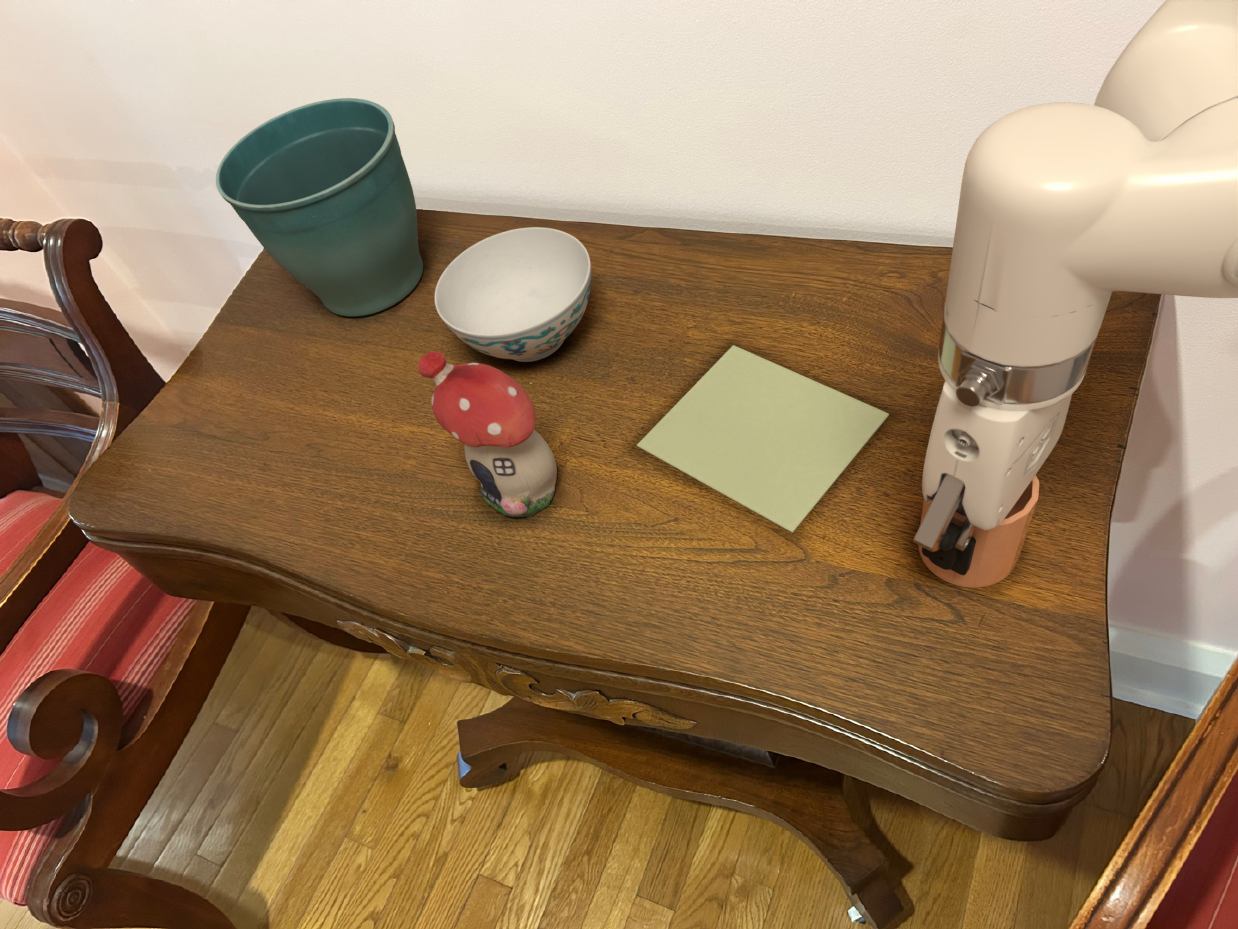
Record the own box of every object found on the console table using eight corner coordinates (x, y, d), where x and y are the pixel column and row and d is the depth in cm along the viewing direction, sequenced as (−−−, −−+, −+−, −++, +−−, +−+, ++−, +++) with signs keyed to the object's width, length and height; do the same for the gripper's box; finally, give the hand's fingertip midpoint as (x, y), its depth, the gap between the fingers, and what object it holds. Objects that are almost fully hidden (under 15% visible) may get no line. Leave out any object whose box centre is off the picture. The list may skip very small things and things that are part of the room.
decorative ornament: (460, 481, 75) (392, 362, 64) (516, 435, 77) (460, 313, 66) (524, 538, 70) (463, 420, 59) (582, 487, 72) (534, 364, 61)
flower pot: (480, 240, 97) (426, 100, 84) (397, 351, 88) (321, 214, 75) (357, 224, 104) (288, 93, 91) (268, 325, 95) (178, 196, 82)
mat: (889, 415, 71) (889, 413, 71) (792, 533, 66) (792, 532, 65) (733, 346, 79) (733, 344, 79) (636, 446, 74) (636, 445, 74)
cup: (1035, 536, 62) (1058, 469, 55) (989, 605, 59) (1007, 543, 53) (947, 494, 65) (959, 427, 59) (900, 557, 63) (907, 494, 56)
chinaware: (448, 321, 89) (420, 263, 83) (580, 268, 90) (562, 207, 84) (481, 416, 80) (453, 358, 74) (628, 356, 81) (612, 294, 75)
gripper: (1004, 481, 41) (960, 645, 55) (1155, 268, 47) (1082, 463, 61) (865, 418, 45) (857, 586, 59) (1022, 229, 51) (982, 421, 65)
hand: (972, 522), depth 60 cm, fingers closed on cup, 6 cm apart
